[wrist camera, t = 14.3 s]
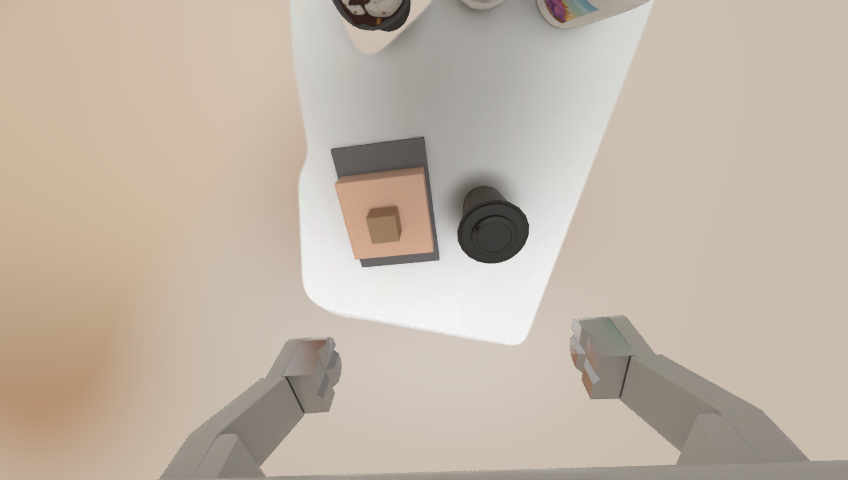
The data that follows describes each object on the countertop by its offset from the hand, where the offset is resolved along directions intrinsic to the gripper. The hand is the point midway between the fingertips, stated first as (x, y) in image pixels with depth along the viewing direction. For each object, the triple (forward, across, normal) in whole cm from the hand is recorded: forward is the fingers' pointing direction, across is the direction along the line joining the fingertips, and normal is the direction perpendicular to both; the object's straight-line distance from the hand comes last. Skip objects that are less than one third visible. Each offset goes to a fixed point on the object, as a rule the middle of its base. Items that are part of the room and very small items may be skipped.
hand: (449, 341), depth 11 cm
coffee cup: (+33, -5, +9) cm, 35 cm away
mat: (+33, +8, +8) cm, 35 cm away
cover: (+30, +8, +8) cm, 32 cm away
